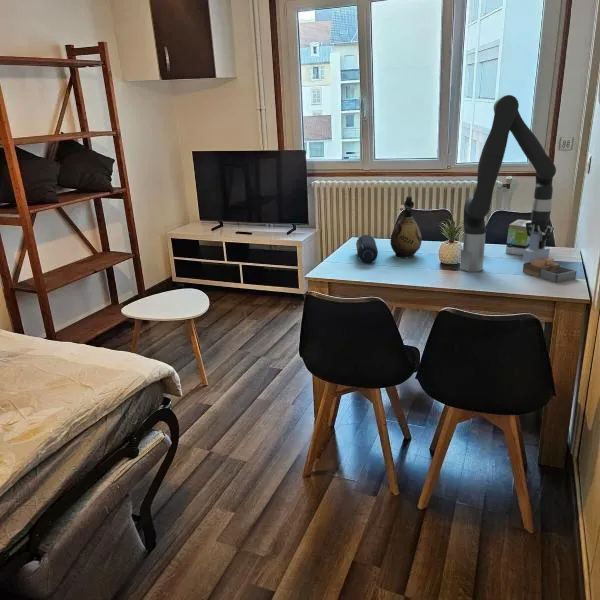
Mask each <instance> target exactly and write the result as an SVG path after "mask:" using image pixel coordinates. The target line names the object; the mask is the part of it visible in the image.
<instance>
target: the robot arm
mask: <svg viewBox="0 0 600 600" xmlns="http://www.w3.org/2000/svg"><path fill="white" fill-rule="evenodd" d="M519 108H520V103H519V100H518V98H517V97H516V96H514V95H511V94H505V95H502V96H500V97H499V98H497V99H496V100H495V102H494V103H493V113H494V115H493V118H492V125H491V129H490V131H489V134H488V136H487V138H486V140H485V142H484V145H483V147H482V151H481V154H480V157H479V160H478V165H477V180H476V181H477V183H476V187H475V191H474V193H473V195H471V196H469V197H468V198H467V199H466V200H465V202H464V208H463V242H462V248H463V249H462V248H461V249H460V263H459V269H460V270H462V271H465V272H468V273H469V272H470V273H473V272H474V273H475V272H482V271H483V269H484V258H485V245H486V234H487V233H486V232H487V231H486V230H487V227H486V222H485V219H486V218H485V217H486V216H487V215H488V214H489V212H490V208H491V205H492V204H491V203H492V196H493V194H494V193H493V192H494V188H495V185H496V182H497V180H498V175H499V173H500V170H501V167H502V164H503V161H504V157H505V153H506V149H507V144H508V140H509V134H510V133H511V134H512V135H513V138H514V139H515V140H516V142H517V144H518V146H519V147H520V149H521V151H522V152H523V154H524V156H525V157H526V158H527V159H528V161H529V162H530V163H531V165H532V167H533V169H534V170H535V188H534V196H533V201H532V207H531V215H530V219H531V220H530V221H531V222H529V223H526V230H527V236H531V233H538V234H539V235H540V241H539V249H543V248H544V245H545V246H546V242H545V240H546V241H547V240H548V241H549V240H551V237H552V234H553V233H554V230H555V227H553V226H550V225H549V221H550V220H551V213H552V201H553V200H552V199H553V191H554V190H553V187H554V186H553V180H554V179H553V178H554V177H555V175H556V172H557V168H556V166H555V164H554V163H553V161H552V160H551V158H550V157H549V156H548V154H547V153H546V151H545V149H544V147H543V146H542V144H541V142H540V141H539V140H538V138H537V136H536V135H535V134H534V132H533V131H532V130H531V129H530V128H529V126H528V125H527V124H526V122H525V121H524V119H523V118H522V116H521V114H520V111H519Z"/></svg>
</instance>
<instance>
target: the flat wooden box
mask: <svg viewBox="0 0 600 600" xmlns="http://www.w3.org/2000/svg"><path fill="white" fill-rule="evenodd" d="M559 266H561V264H560V263H557V262H553V264H548V265H543V266H534V265H531V263H528V262H524V263H523V266H522V272H523V273H525V274H528V275H531V276H534V277H536V278H540V274H541V270H545V271H553V270H558V269H559Z"/></svg>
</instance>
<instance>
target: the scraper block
mask: <svg viewBox="0 0 600 600" xmlns="http://www.w3.org/2000/svg"><path fill="white" fill-rule="evenodd" d="M539 241H540V235H539V234H538V233H531V236H530V245H529V249H526V250H524V253H523V255H522V262H524V263H531V260H534V259H540V258H544V257H548V258H550V257H549V256H550V255H549V254H550V248H549V247H546V244H545V245H544V248H543V249H539ZM546 241H547V240H545V243H546Z"/></svg>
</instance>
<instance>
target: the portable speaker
mask: <svg viewBox="0 0 600 600" xmlns="http://www.w3.org/2000/svg"><path fill="white" fill-rule="evenodd" d="M376 243H377V242H376V240H375V239H374V237H373V236H371V235H369V234H363V235H361V236H359V237H358V239H357V240H356V243H355V244H356V245H355V246H356V252H357V258H358V259H359V260H360V261H361V262H362V263H364V264H370V263H371V264H372V263H373V262H375V261H376V259H377V258H378V253H379V251H378V247H377V244H376Z"/></svg>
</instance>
